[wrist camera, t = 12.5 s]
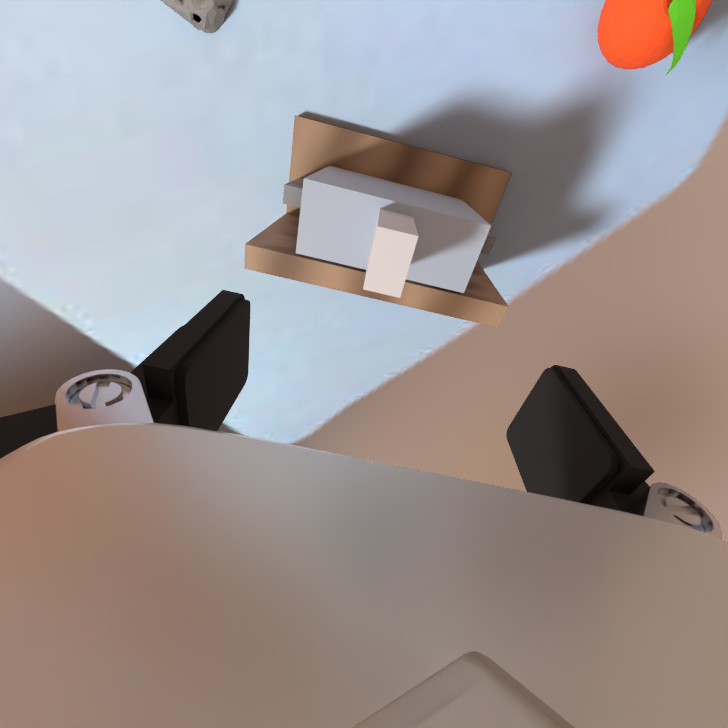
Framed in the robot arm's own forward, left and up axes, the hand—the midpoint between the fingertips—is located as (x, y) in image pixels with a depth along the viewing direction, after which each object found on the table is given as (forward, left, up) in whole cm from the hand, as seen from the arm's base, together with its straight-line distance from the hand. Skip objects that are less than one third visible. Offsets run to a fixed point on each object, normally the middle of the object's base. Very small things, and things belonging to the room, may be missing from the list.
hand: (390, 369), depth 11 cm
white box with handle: (0, +1, -31) cm, 31 cm away
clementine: (-16, -18, -33) cm, 40 cm away
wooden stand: (0, 0, -32) cm, 32 cm away
